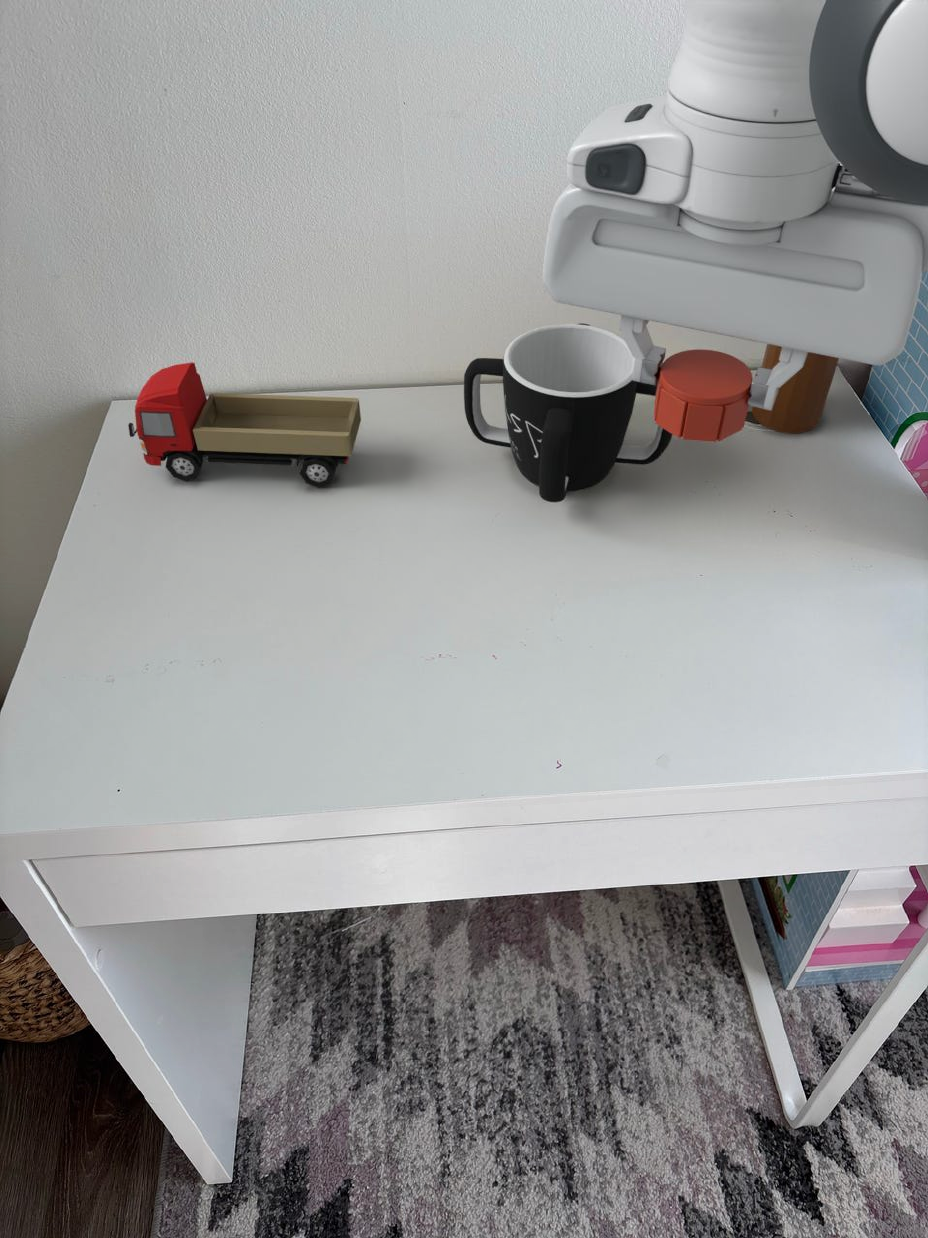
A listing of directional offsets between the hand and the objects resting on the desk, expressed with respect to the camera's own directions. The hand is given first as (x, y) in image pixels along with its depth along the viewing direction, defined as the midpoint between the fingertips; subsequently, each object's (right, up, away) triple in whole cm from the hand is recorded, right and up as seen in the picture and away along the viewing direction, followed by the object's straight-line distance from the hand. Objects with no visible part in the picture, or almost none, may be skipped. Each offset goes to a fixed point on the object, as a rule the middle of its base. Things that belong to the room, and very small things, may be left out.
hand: (702, 390), depth 58 cm
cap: (0, -1, +1) cm, 2 cm away
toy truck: (-35, +1, +36) cm, 50 cm away
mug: (-5, +1, +36) cm, 36 cm away
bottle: (+19, +7, +41) cm, 46 cm away
